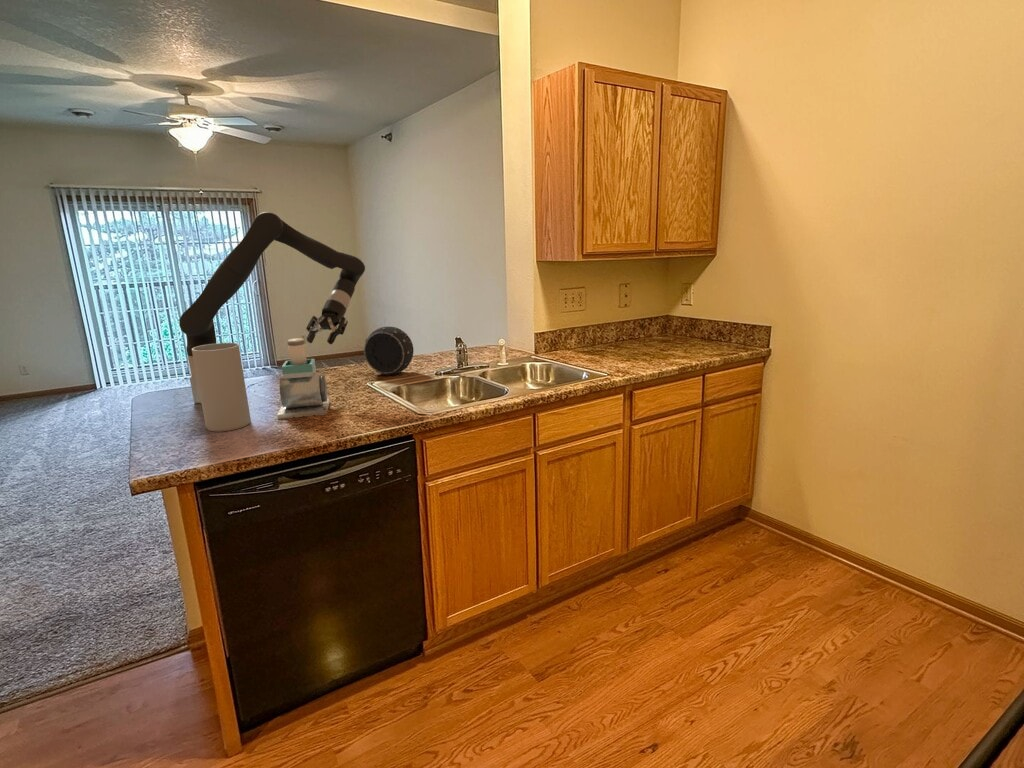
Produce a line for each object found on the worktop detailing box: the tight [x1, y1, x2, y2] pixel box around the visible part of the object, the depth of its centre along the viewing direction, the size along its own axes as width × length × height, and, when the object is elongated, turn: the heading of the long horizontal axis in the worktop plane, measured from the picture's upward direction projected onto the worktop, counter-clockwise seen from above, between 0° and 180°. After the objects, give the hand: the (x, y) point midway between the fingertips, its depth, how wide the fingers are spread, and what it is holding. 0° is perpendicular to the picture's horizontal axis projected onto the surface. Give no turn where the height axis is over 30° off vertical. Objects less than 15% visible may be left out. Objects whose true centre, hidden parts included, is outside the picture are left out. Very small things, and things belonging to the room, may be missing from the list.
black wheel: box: [363, 326, 414, 376], centre depth 227 cm, size 11×20×20 cm, turn 78°
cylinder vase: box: [192, 342, 252, 433], centre depth 166 cm, size 12×12×25 cm
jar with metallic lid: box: [287, 337, 308, 365], centre depth 177 cm, size 5×5×10 cm
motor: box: [276, 358, 330, 420], centre depth 180 cm, size 15×14×16 cm
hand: (319, 342), depth 187 cm, fingers open, 8 cm apart
